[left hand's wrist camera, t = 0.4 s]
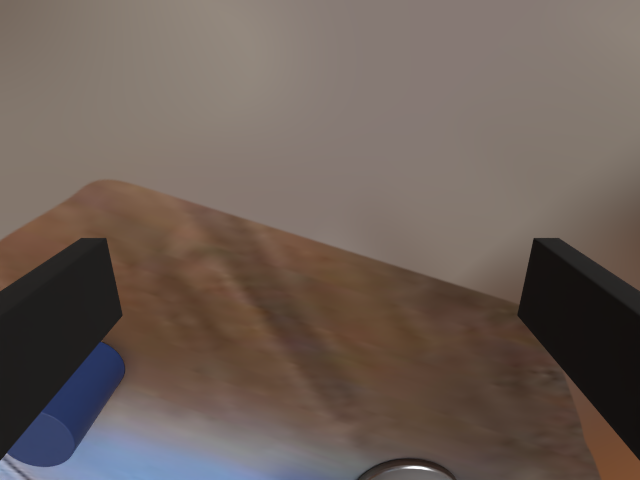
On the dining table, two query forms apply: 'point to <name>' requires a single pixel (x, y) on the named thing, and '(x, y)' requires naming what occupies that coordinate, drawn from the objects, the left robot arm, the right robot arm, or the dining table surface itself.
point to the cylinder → (71, 410)
